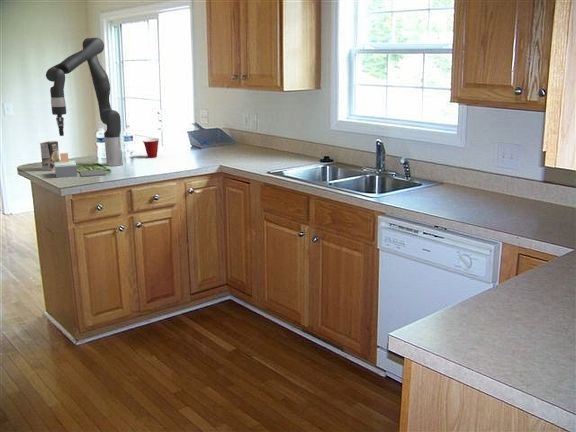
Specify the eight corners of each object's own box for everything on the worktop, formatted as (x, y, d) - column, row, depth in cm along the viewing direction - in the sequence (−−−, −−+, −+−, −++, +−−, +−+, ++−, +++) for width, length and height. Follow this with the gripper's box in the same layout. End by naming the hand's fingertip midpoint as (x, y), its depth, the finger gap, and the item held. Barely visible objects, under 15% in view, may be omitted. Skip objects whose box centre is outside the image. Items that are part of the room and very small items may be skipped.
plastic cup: (142, 156, 406) (140, 138, 403) (158, 155, 410) (157, 137, 407) (145, 159, 396) (143, 140, 393) (162, 158, 400) (160, 139, 397)
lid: (74, 163, 354) (73, 151, 352) (76, 167, 342) (75, 155, 341) (54, 165, 350) (53, 153, 348) (55, 168, 338) (54, 156, 337)
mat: (102, 170, 360) (102, 169, 360) (105, 175, 346) (105, 174, 346) (79, 172, 355) (79, 171, 355) (81, 176, 342) (81, 175, 341)
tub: (75, 172, 355) (74, 161, 354) (77, 176, 344) (76, 165, 342) (55, 173, 351) (54, 163, 350) (56, 177, 340) (55, 167, 338)
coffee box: (52, 170, 360) (49, 143, 356) (42, 170, 361) (39, 143, 357) (61, 168, 368) (58, 141, 364) (51, 167, 370) (48, 140, 365)
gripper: (66, 106, 336) (69, 136, 340) (65, 104, 349) (68, 133, 353) (51, 106, 333) (54, 136, 337) (51, 104, 346) (54, 133, 350)
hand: (61, 134), depth 345 cm, fingers open, 8 cm apart
